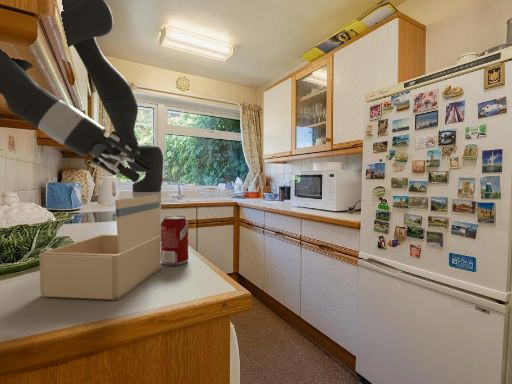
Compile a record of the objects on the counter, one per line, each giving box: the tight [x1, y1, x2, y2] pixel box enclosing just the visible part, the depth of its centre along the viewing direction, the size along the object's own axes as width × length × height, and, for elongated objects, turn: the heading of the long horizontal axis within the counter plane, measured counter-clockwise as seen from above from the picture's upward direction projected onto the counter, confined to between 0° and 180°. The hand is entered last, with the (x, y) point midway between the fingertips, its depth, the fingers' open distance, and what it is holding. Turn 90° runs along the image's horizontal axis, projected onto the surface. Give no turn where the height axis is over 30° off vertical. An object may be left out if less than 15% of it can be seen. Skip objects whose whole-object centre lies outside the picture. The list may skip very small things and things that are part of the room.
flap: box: [114, 195, 161, 253], centre depth 56 cm, size 16×1×10 cm, turn 175°
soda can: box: [160, 214, 189, 267], centre depth 70 cm, size 7×7×12 cm
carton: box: [38, 234, 162, 301], centre depth 57 cm, size 18×15×8 cm
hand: (144, 174), depth 63 cm, fingers open, 8 cm apart
